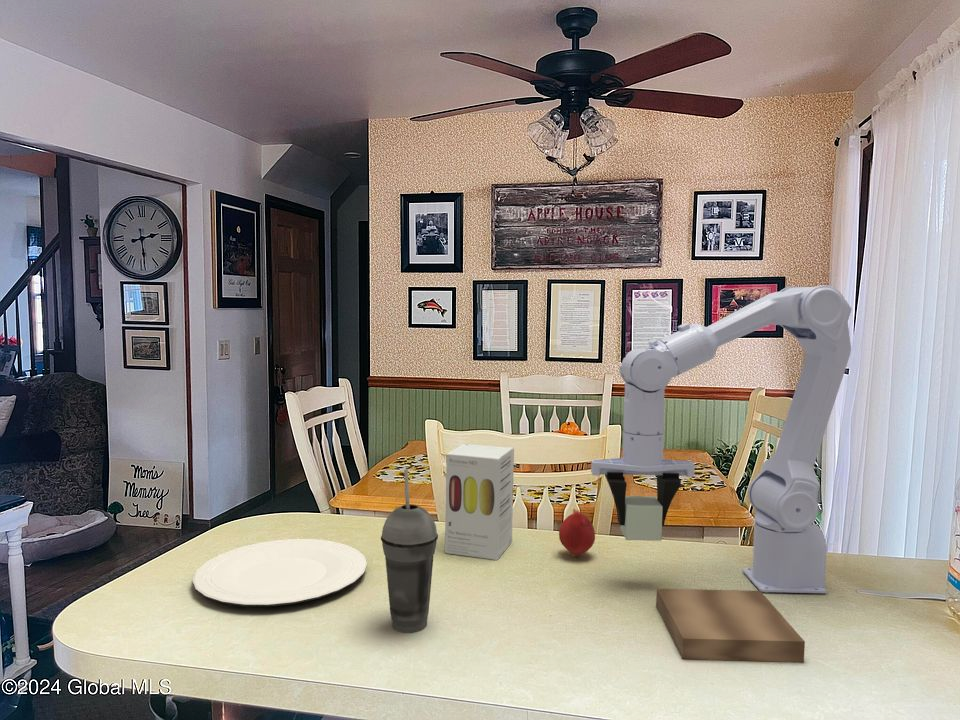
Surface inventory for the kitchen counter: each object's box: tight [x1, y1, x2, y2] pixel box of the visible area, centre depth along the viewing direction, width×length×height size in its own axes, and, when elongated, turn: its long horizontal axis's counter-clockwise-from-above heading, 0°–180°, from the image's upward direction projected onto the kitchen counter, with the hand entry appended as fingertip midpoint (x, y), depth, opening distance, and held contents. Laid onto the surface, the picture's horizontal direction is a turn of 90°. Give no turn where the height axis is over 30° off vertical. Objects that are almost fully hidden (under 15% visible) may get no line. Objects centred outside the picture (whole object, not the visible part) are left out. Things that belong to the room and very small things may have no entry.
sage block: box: [619, 495, 663, 542], centre depth 101 cm, size 5×5×5 cm
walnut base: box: [655, 588, 806, 663], centre depth 87 cm, size 14×14×2 cm
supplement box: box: [444, 442, 515, 561], centre depth 116 cm, size 10×9×17 cm
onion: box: [558, 507, 596, 558], centre depth 113 cm, size 6×6×8 cm
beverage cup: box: [380, 469, 439, 634], centre depth 88 cm, size 7×7×20 cm
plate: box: [191, 538, 368, 607], centre depth 103 cm, size 25×25×2 cm
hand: (640, 523), depth 101 cm, fingers closed on sage block, 5 cm apart
